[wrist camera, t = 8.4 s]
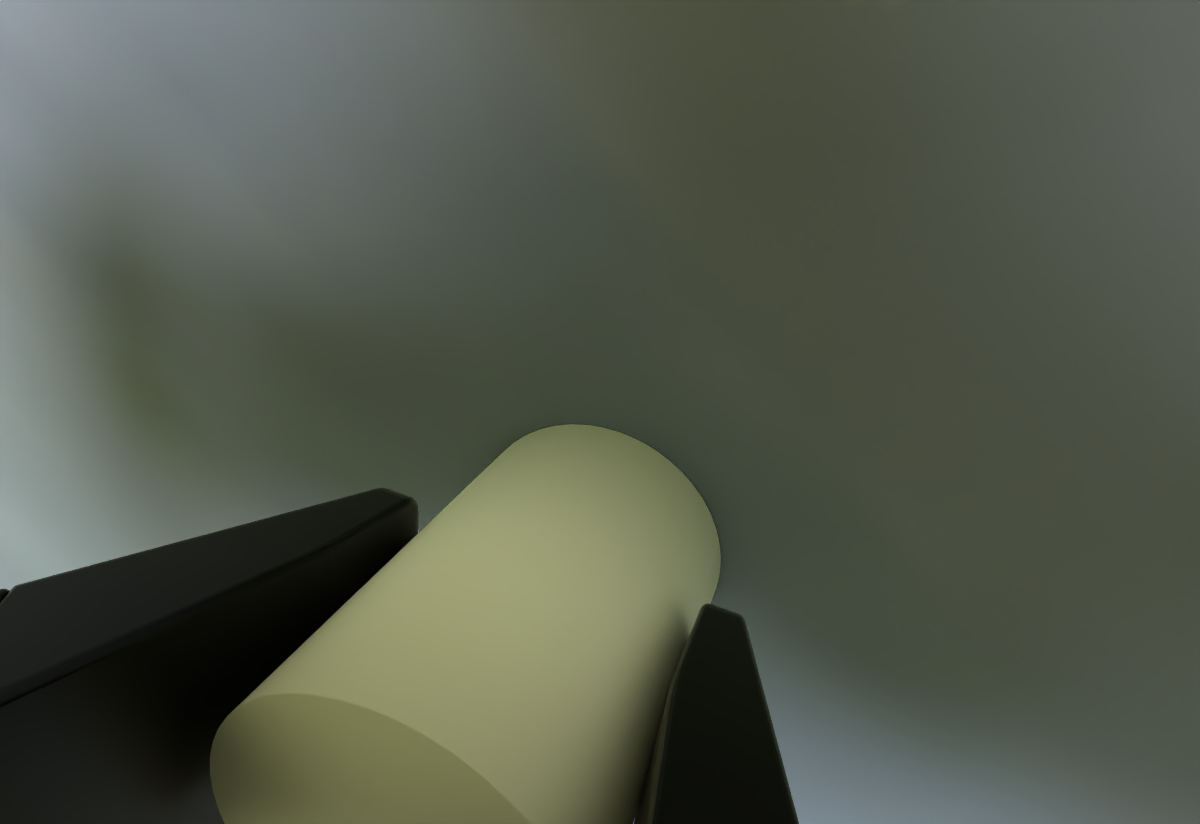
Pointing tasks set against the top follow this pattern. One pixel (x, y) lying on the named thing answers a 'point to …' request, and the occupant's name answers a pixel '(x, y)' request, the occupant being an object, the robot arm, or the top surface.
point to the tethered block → (491, 654)
